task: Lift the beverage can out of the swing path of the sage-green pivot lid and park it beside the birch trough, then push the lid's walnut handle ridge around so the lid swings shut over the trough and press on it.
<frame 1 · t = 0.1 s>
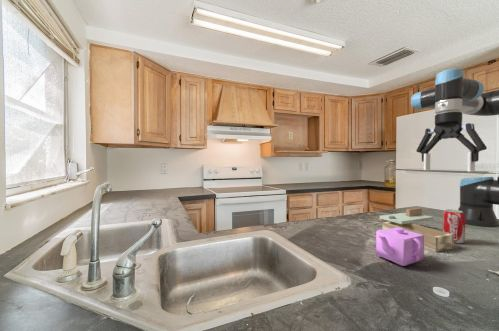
hand: (447, 170, 81), 28 cm above the countertop, fingers open, 13 cm apart
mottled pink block: (396, 260, 70), on the countertop
cover: (406, 214, 98), point 7 cm above the countertop, hinge at 90.0°
beverage can: (453, 241, 85), on the countertop
trough: (414, 240, 86), on the countertop
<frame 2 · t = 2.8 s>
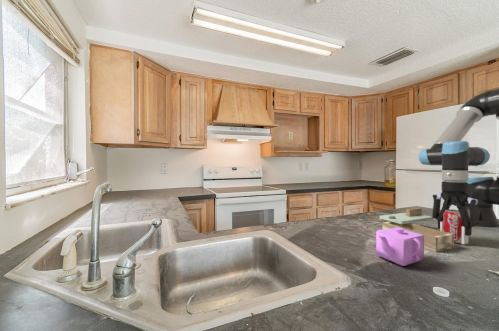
hand: (453, 240, 85), 0 cm above the countertop, fingers closed on beverage can, 6 cm apart
beverage can: (453, 241, 85), on the countertop, touching gripper
everything else where it was.
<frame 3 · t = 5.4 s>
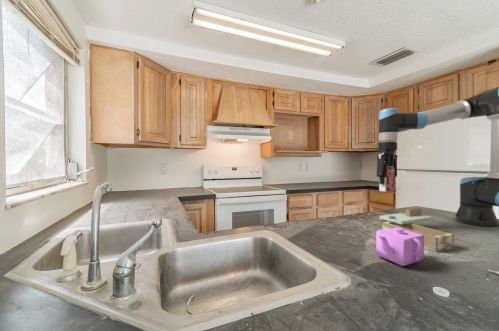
hand: (386, 190, 104), 17 cm above the countertop, fingers closed on beverage can, 6 cm apart
beverage can: (386, 191, 104), point 17 cm above the countertop, touching gripper
everything else where it was.
when the fingers open (2 cm above the countertop, at t = 7.9 s): beverage can drops 1 cm, on the countertop.
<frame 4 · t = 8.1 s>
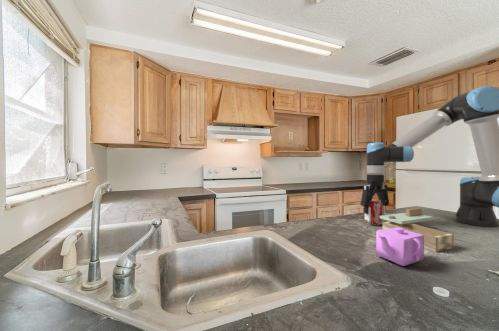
hand: (374, 219, 109), 3 cm above the countertop, fingers open, 9 cm apart
beverage can: (374, 224, 109), on the countertop
everything else where it was.
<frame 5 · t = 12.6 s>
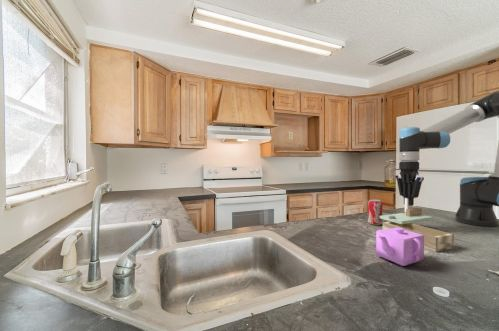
hand: (408, 212, 101), 8 cm above the countertop, fingers closed
cover: (406, 214, 98), point 7 cm above the countertop, hinge at 90.0°, touching gripper
everything else where it was.
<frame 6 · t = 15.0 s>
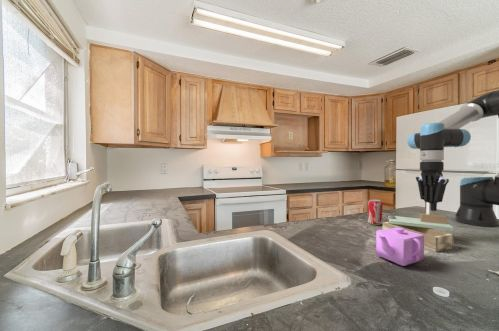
hand: (430, 218, 90), 8 cm above the countertop, fingers closed
cover: (417, 218, 91), point 7 cm above the countertop, hinge at 40.9°, touching gripper
everything else where it was.
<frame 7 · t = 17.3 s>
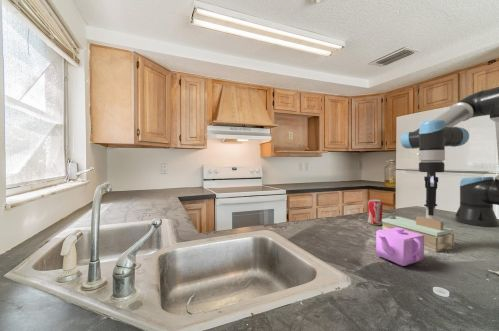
hand: (430, 223, 84), 8 cm above the countertop, fingers closed
cover: (414, 221, 87), point 7 cm above the countertop, hinge at 3.2°, touching gripper
everything else where it was.
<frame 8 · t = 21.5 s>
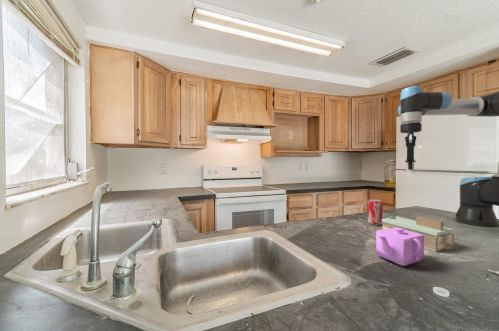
hand: (410, 176, 96), 24 cm above the countertop, fingers closed
cover: (414, 221, 87), point 7 cm above the countertop, hinge at 3.2°
everything else where it was.
at the end: cover at +3° (first picture: +90°); beverage can inside the target area (0.0 cm from its centre), on the countertop; beverage can tilted 0° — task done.
